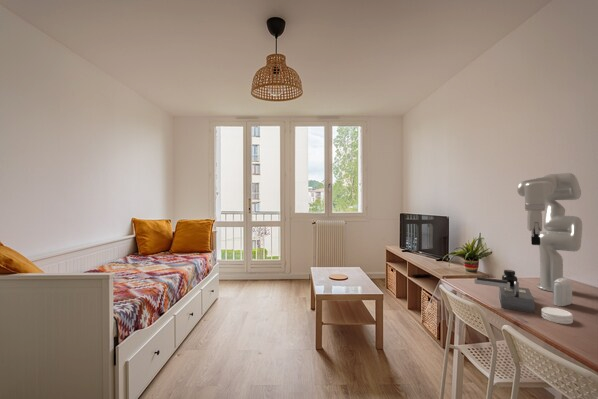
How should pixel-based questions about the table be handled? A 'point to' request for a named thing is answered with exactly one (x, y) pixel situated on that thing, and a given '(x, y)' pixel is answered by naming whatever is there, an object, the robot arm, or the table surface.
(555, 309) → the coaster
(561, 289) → the photo printer
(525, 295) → the grey lever box
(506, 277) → the supplement bottle
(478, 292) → the table surface
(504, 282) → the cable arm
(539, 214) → the robot arm
